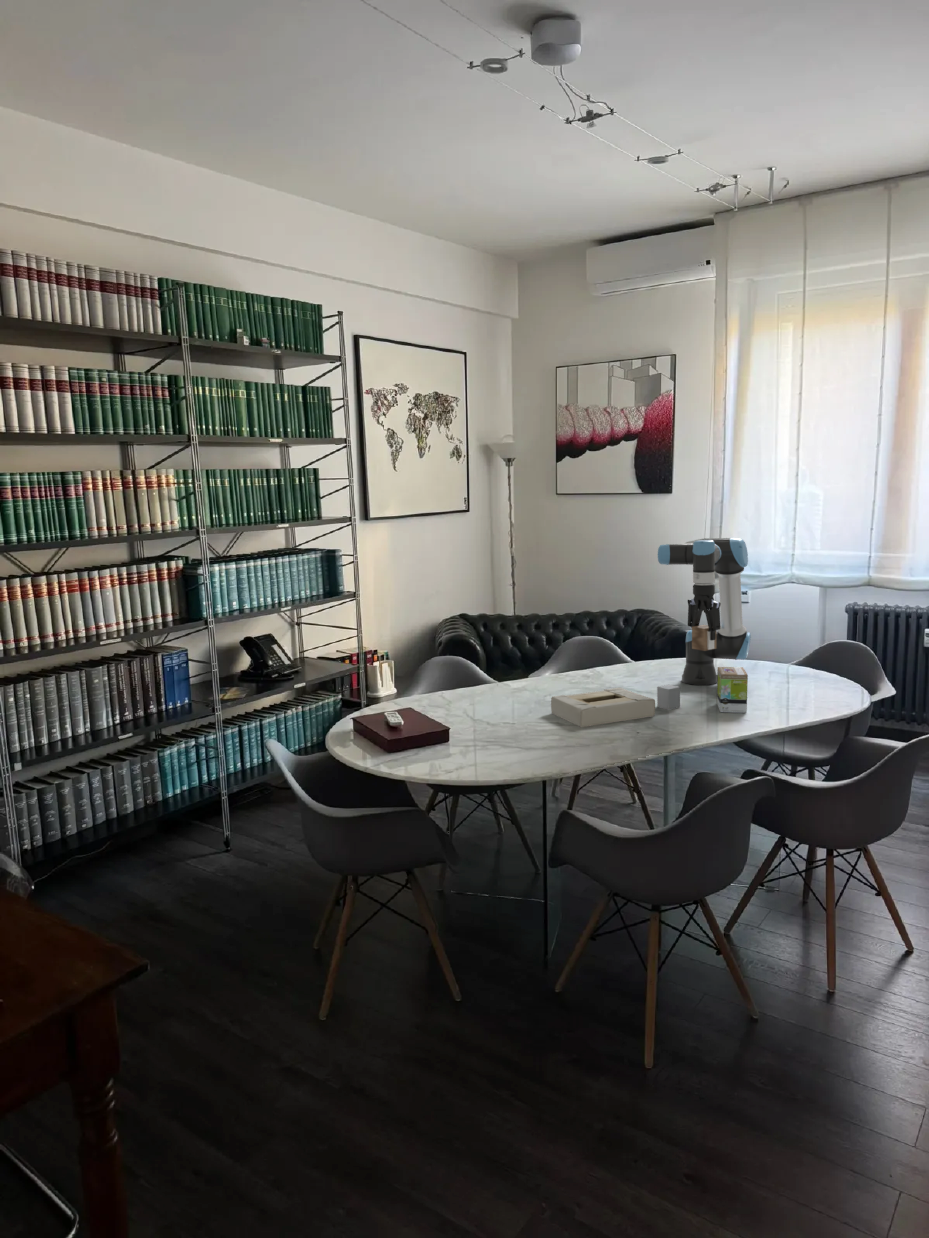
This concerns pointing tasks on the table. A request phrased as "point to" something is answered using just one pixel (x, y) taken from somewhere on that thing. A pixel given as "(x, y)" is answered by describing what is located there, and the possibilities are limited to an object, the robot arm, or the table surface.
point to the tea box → (732, 689)
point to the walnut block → (700, 637)
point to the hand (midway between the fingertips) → (703, 647)
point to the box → (602, 707)
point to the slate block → (668, 697)
